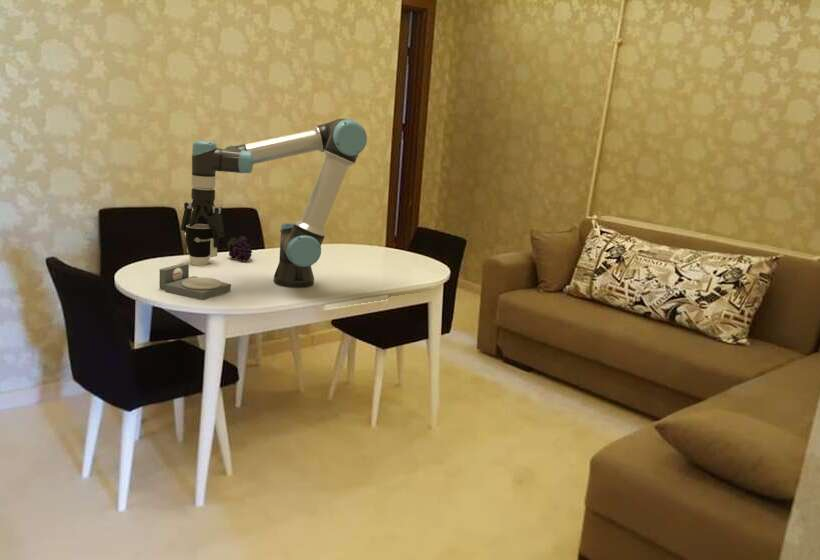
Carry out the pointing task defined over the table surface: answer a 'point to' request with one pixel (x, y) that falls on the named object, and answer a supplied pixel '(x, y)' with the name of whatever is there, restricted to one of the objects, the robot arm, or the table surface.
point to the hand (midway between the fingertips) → (201, 254)
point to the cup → (199, 260)
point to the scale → (190, 283)
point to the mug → (199, 240)
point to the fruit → (239, 248)
